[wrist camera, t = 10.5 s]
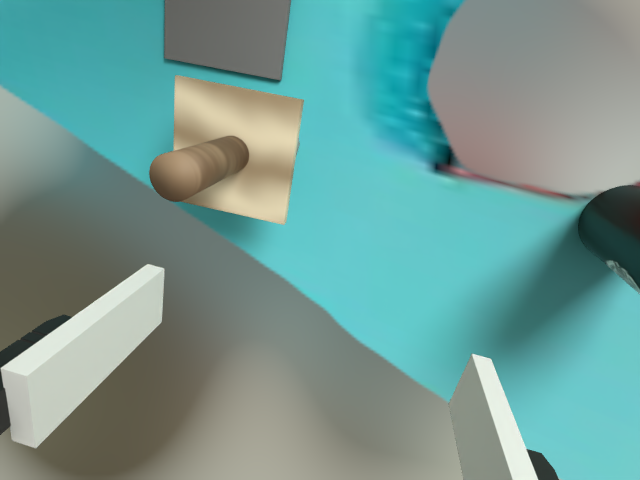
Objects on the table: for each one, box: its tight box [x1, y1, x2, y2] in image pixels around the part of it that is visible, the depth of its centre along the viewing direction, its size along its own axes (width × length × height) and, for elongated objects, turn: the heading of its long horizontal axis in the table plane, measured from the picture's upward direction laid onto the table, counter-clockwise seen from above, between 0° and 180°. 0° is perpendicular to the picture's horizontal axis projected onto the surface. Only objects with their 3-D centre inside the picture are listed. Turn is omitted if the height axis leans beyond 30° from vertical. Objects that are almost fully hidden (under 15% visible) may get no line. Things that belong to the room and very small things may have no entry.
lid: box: [149, 75, 304, 225], centre depth 32 cm, size 12×12×12 cm
